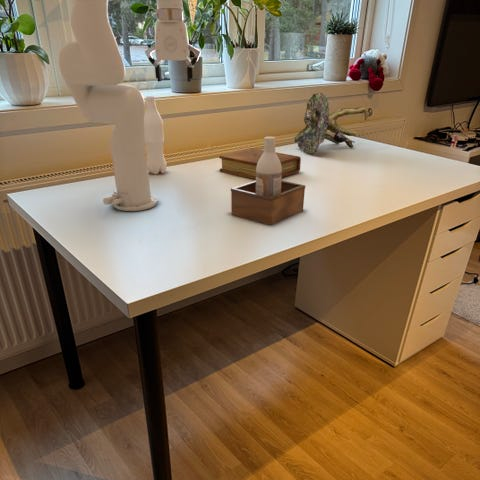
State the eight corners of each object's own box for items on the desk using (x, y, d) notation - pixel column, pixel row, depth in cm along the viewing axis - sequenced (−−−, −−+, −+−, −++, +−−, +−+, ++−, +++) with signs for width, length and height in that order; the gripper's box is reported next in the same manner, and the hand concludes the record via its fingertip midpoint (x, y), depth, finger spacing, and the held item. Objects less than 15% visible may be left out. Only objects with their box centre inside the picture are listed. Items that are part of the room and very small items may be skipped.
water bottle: (169, 170, 168) (163, 95, 154) (164, 175, 162) (157, 98, 148) (150, 169, 168) (142, 95, 155) (145, 174, 162) (136, 98, 149)
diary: (299, 172, 165) (301, 156, 162) (267, 182, 153) (267, 165, 150) (253, 162, 178) (253, 147, 175) (219, 171, 166) (219, 155, 163)
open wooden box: (270, 225, 118) (271, 198, 114) (230, 214, 126) (230, 188, 122) (303, 210, 128) (305, 185, 124) (265, 201, 136) (266, 176, 132)
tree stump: (341, 138, 174) (386, 121, 194) (303, 85, 176) (351, 73, 196) (306, 175, 193) (351, 156, 213) (272, 127, 194) (320, 112, 215)
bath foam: (250, 210, 128) (251, 136, 118) (271, 207, 131) (274, 134, 120) (263, 218, 123) (265, 140, 112) (284, 214, 126) (288, 138, 115)
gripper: (139, 16, 132) (145, 81, 141) (197, 16, 131) (199, 82, 140) (145, 17, 139) (150, 80, 147) (200, 17, 138) (203, 80, 147)
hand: (174, 81), depth 144 cm, fingers open, 9 cm apart
